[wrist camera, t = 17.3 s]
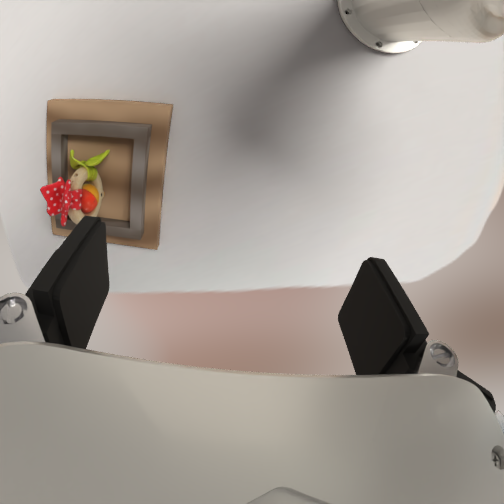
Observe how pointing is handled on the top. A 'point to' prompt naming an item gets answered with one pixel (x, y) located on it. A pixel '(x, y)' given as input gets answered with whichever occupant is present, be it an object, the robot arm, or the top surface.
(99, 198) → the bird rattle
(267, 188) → the top surface
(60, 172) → the wooden tray
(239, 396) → the robot arm
